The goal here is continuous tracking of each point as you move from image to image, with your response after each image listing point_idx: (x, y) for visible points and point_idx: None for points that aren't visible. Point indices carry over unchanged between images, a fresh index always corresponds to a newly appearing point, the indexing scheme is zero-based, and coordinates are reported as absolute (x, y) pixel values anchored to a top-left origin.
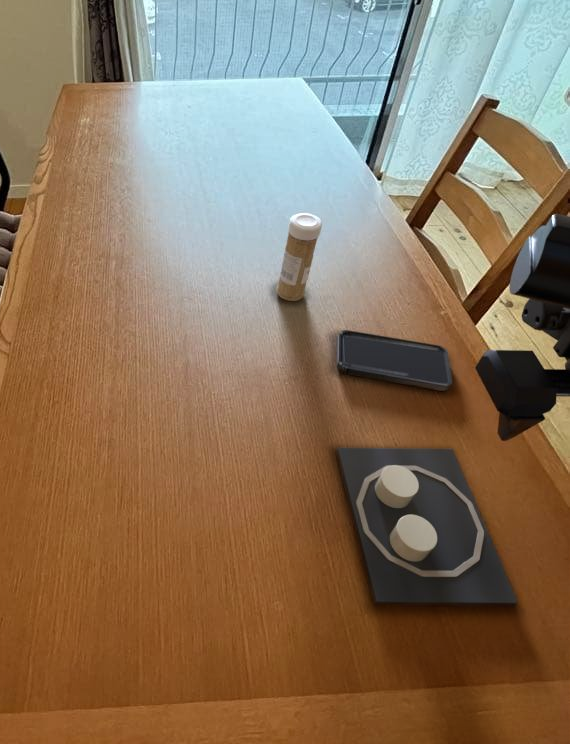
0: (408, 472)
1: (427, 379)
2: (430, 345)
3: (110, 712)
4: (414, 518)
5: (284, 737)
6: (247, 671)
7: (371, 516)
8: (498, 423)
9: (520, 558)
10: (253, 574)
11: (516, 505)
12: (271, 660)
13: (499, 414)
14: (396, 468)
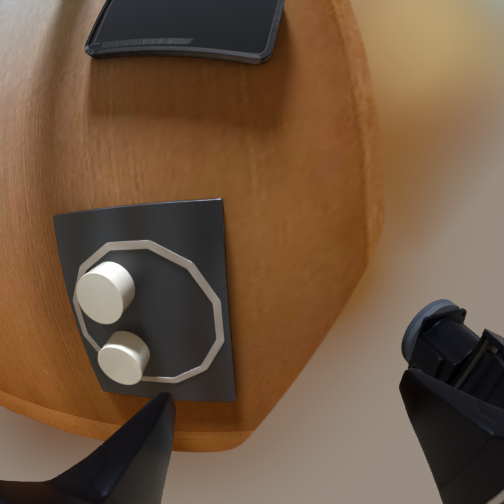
0: (109, 286)
1: (225, 46)
2: None
3: (8, 395)
4: (116, 351)
5: (73, 426)
6: (45, 399)
7: (89, 317)
8: (140, 409)
9: (267, 353)
10: (25, 349)
11: (296, 287)
12: (54, 398)
13: (119, 429)
14: (94, 278)
